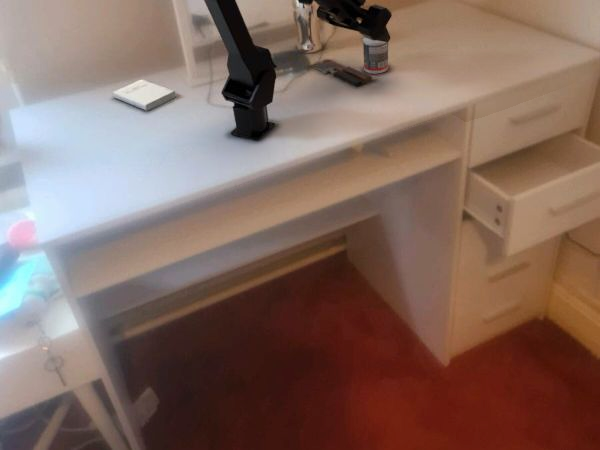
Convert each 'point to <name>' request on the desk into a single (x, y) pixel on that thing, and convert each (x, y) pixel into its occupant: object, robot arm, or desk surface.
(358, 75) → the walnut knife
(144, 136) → the desk surface
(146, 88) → the hard drive
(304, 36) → the beer glass
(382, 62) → the pill bottle
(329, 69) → the black-handled fork
